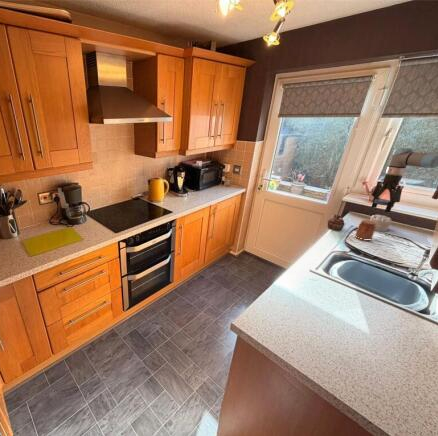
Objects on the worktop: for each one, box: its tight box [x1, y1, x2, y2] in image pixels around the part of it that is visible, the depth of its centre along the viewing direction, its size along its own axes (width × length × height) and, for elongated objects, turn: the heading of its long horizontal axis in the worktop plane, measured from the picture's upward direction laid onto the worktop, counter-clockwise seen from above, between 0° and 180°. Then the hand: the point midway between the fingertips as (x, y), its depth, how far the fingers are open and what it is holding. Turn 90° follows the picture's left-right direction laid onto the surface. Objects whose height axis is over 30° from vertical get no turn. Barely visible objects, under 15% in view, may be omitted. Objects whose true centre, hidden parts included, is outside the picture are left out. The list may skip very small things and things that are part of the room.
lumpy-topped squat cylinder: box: [369, 214, 392, 232], centre depth 162 cm, size 10×13×9 cm
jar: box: [354, 219, 377, 242], centre depth 147 cm, size 8×8×12 cm
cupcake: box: [327, 214, 346, 232], centre depth 162 cm, size 10×10×10 cm
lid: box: [374, 198, 390, 206], centre depth 146 cm, size 8×8×2 cm
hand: (380, 209), depth 148 cm, fingers closed on lid, 8 cm apart
